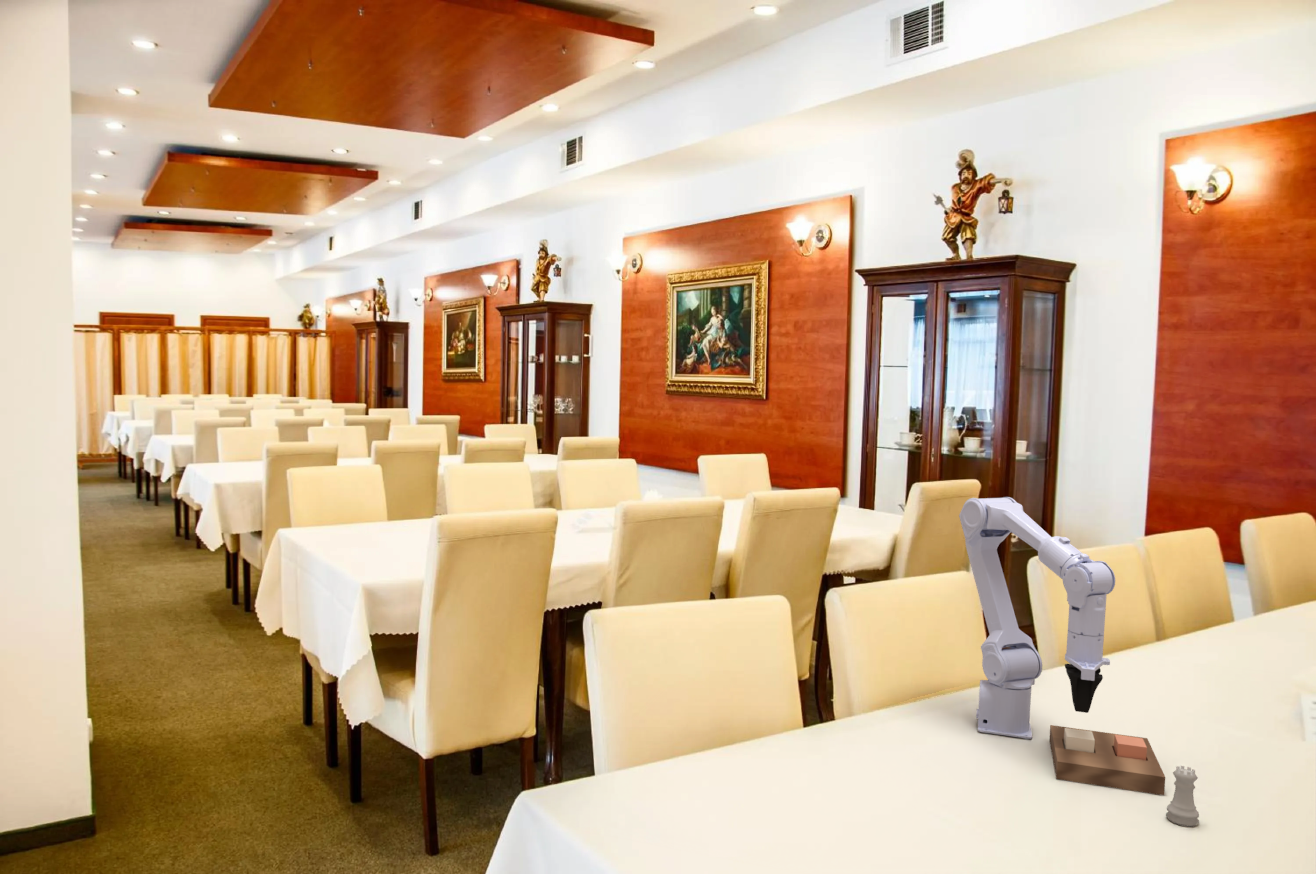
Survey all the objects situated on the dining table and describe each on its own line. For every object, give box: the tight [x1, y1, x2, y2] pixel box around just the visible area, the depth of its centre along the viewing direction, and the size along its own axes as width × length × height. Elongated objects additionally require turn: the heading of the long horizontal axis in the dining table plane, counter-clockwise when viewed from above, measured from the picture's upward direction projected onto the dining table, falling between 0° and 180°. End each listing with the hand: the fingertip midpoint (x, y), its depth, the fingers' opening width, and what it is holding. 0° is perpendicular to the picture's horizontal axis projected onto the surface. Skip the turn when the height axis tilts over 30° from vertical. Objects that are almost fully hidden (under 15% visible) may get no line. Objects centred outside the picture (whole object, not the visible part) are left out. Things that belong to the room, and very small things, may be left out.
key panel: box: [1049, 724, 1166, 796], centre depth 165 cm, size 16×18×3 cm
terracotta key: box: [1114, 734, 1147, 760], centre depth 163 cm, size 4×4×4 cm
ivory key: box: [1064, 727, 1095, 753], centre depth 166 cm, size 4×4×4 cm
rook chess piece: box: [1165, 765, 1200, 828], centre depth 145 cm, size 4×4×8 cm
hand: (1080, 709), depth 165 cm, fingers closed
